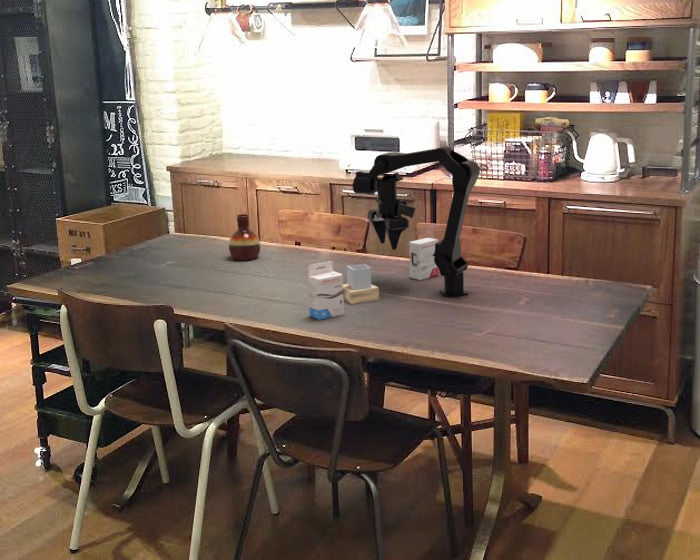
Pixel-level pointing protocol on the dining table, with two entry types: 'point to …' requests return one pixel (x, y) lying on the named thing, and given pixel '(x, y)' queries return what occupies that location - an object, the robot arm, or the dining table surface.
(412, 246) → the ink box
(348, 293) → the beige square block
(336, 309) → the ink box
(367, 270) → the gray paneled cube
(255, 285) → the dining table surface
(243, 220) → the vase
